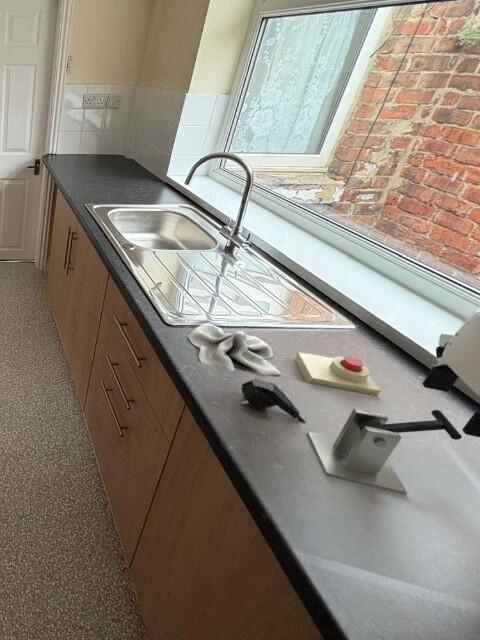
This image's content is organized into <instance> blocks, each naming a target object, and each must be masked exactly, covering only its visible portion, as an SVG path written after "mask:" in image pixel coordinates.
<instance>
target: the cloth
mask: <svg viewBox="0 0 480 640" xmlns="http://www.w3.org/2000/svg"><path fill="white" fill-rule="evenodd" d="M187 338H188V339H189V341H190V343H191V344H192V345H193V346H195V347H197V348H198V349H199V353H198V359H199V361H200V363H202V364H206V365H212V366H217V367H222V368H225V369H227V370H229V371H231V372H234V371H235V368H239V369H241V370H242V371H244V372H249V373H253V374H258V375H262V376H269V377H270V376H280V375H282V373H281V372H280V371H279V369H277V368H276V367H275V366H274V365H273V364H271V363H270V362H269V361H268V360H269V359H271V358H273V357H274V354H273V351H272V349H271V347H270V346H269V345H268V344H267V342H265V341H263V340H262V339H260V338H259V337H257V336H252V335H247V334H246V333H245V332H244V331H236V332H235V333H233V332H232V333H230V332H228V333H227V332H224V330H223V329H222V328H221V327H219V326H216V325H214V324H211V323H202V324H201V325H199V326H196V327H195V328H194V329H193V330H192V331H191V332H190V333H189V334H188V335H187Z"/></svg>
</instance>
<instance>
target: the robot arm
mask: <svg viewBox="0 0 480 640" xmlns="http://www.w3.org/2000/svg"><path fill="white" fill-rule="evenodd" d="M435 355H436V358H434V359H433V360H432V365H433V366H432V367H431V369H430V371H429V372H428V374H427V375H426V377H425V379H424V380H423V382H422V383H421V384H422V386H423V387H424V388H426V389H432V390H434V391H435V390H436V391H441V392H449V391H450V390H451V389H452V388H453V386H454V384H455V383H456V382H457V380H458V379H459V378H460V379H461V381H463V383H464V384H465V385H467V386H468V387H469V388H470V390H472V392H474V393H475V394H476V395H477V396H479V397H480V307H479V308H478V309H477V310H476V311H475V312H474V313H473V314H471V315H470V317H468V318H467V319H466V321H465V322H464V323H463V324H462V325H461V326H460V327H459V328H458V329H457V331H456V332H455V334H446V333H441V334H440V335H439V340H438V346H437V347H436V348H435ZM462 432H463V433H464V434H465V435H467V436H472V437H476V438H480V411H475V412H474V413H473V415H472V416H471V417H470V418H469V420H468V421H467V423H466V424H465V425H464V426H463V428H462Z"/></svg>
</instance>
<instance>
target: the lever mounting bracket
mask: <svg viewBox="0 0 480 640" xmlns="http://www.w3.org/2000/svg"><path fill="white" fill-rule="evenodd" d="M371 419H379V421H380V422H381V424H387V421H388V420H389V417H388V416H387V415H386V414H384V413H380V412H375V411H371V410H367V409H360V408H356V407H355V408H353V409H352V411H351V413H350V414H349V416H348V417H347V420H346V422H345V423H344V425H343V426H342V428H341V430H340V431H339V434H338V436H337V437H334V436H329V435H324V434H321V433H316V432H311V431H307V433H306V435H307V437H308V439H309V441H310V444H311V445H312V448H313V450H314V452H315V454H316V457H317V459H318V461H319V463H320V465H321V467H322V470H323V472H324V475H326V476H330V477H334V478H337V479H341V480H346V481H350V482H352V483H353V482H354V483H357V484H362V485H366V486H370V487H374V488H378V489H382V490H387V491H391V492H395V493H399V494H402V495H407V494H408V491H407V489H406V487H405V486H404V484H403V483H402V481H401V479H400V478H399V476H398V475H397V473H396V471H395V470H394V468H393V466H392V465H391V463H390V461H389V460H388V459H389V457H391V455H392V453H393V452H394V450H395V449H396V447H397V446H398V444H399V443H400V441H401V440H402V436H401V435H400V433H395V432H391V431H386V430H381V429H376V428H372V427H367V426H365V427H364V429H363V431H362V432H361V431H360V428H359V425H358V421H360V420H371Z"/></svg>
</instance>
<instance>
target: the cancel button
mask: <svg viewBox="0 0 480 640" xmlns="http://www.w3.org/2000/svg"><path fill="white" fill-rule="evenodd" d="M343 357H344V359H343V361H342V363H341V365H342V366H343V367H344V368H346V369H348V370H350V371H354V372H359V371H360V370H361V368H362V366H363V365H364V362H363V361H362V360H360V359H359V358H357V357H354V356H351V355H346V356H343Z"/></svg>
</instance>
